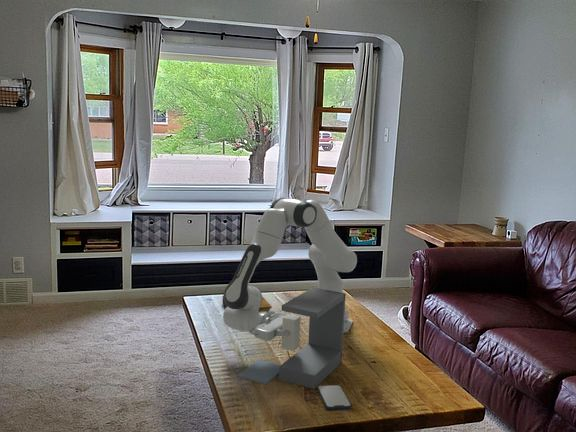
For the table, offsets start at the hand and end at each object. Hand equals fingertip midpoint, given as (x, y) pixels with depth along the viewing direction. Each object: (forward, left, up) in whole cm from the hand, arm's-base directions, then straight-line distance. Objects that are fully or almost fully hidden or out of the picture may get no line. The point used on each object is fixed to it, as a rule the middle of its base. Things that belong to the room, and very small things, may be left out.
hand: (293, 331), depth 211 cm
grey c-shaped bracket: (-2, +7, -15) cm, 17 cm away
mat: (+9, -8, -15) cm, 19 cm away
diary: (-46, -49, -15) cm, 69 cm away
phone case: (+14, +23, -15) cm, 31 cm away
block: (0, -1, -7) cm, 7 cm away
